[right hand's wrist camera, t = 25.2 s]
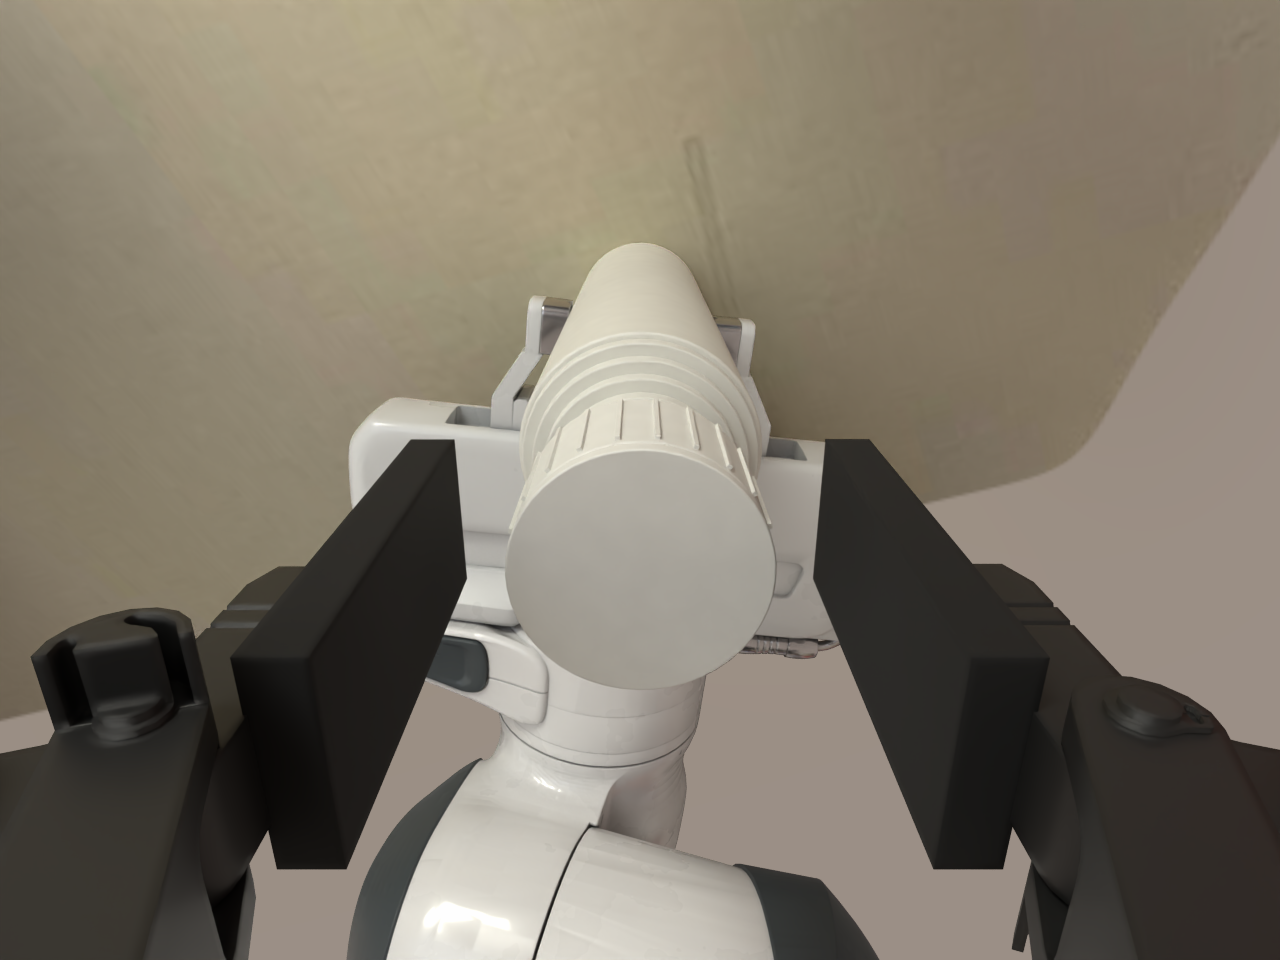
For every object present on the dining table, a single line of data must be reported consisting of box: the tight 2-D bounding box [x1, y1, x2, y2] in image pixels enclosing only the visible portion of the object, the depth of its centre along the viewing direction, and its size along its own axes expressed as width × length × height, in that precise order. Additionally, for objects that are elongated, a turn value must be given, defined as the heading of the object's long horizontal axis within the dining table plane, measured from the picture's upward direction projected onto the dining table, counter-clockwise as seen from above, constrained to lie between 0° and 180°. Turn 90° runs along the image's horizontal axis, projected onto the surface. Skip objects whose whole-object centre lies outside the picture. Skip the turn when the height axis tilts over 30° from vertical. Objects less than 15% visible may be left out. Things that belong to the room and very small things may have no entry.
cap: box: [505, 398, 777, 690], centre depth 13 cm, size 4×4×3 cm
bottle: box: [519, 243, 762, 482], centre depth 24 cm, size 5×5×24 cm
